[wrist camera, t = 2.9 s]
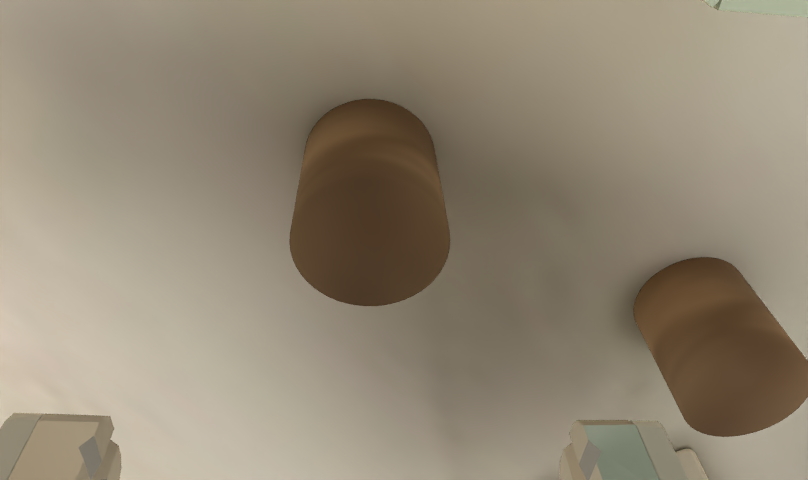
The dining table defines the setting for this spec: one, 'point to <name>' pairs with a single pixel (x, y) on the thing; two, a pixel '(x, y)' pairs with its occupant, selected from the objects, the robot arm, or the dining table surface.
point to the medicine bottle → (691, 465)
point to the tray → (763, 6)
